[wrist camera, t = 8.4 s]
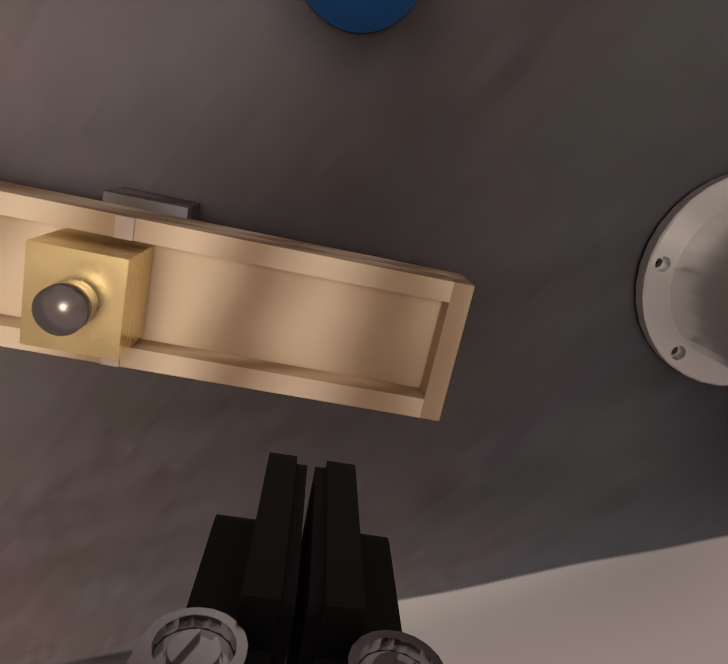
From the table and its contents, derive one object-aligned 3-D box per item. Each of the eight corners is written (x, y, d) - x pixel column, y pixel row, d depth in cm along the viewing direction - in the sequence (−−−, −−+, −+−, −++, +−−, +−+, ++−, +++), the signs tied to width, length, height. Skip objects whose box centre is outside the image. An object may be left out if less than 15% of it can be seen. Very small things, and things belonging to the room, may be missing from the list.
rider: (154, 245, 29) (117, 266, 23) (143, 333, 30) (105, 372, 25) (65, 227, 28) (7, 245, 23) (58, 318, 29) (1, 355, 24)
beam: (451, 254, 34) (478, 276, 29) (418, 385, 37) (437, 431, 31) (-166, 127, 31) (-281, 122, 25) (-163, 282, 33) (-269, 311, 27)
